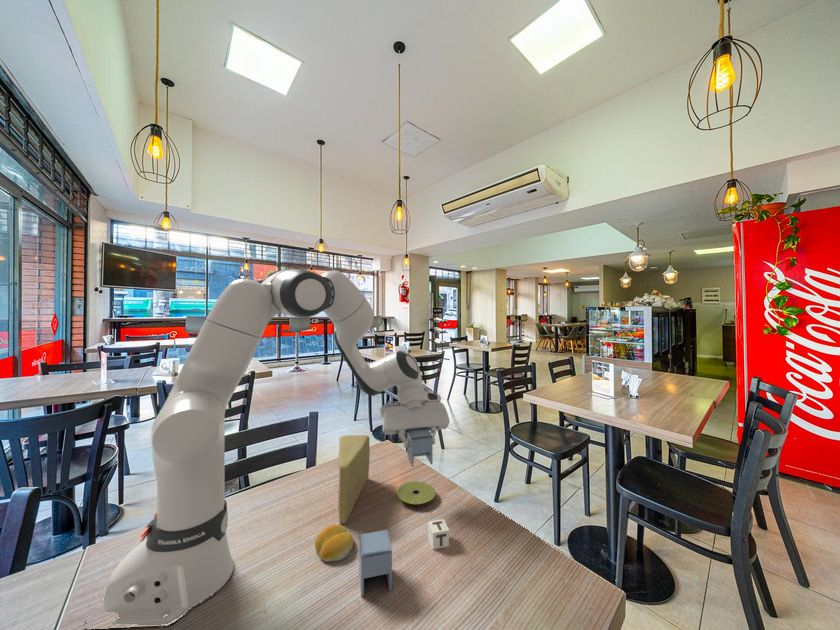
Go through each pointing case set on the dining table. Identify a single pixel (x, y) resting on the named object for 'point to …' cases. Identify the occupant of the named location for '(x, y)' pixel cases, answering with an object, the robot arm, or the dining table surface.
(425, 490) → the mat
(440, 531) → the letter cube
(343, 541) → the bread roll
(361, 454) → the cheese
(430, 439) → the grey stool
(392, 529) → the dining table surface
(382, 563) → the gray notched block
